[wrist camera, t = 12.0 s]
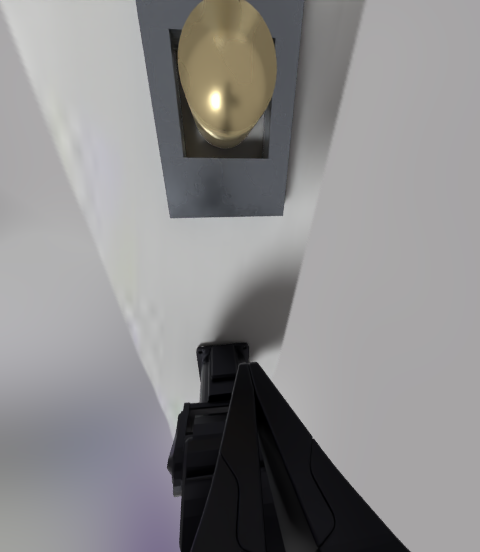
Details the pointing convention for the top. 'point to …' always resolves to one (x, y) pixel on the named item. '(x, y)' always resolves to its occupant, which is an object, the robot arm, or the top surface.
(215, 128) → the gold rounded cylinder
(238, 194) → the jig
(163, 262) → the top surface
